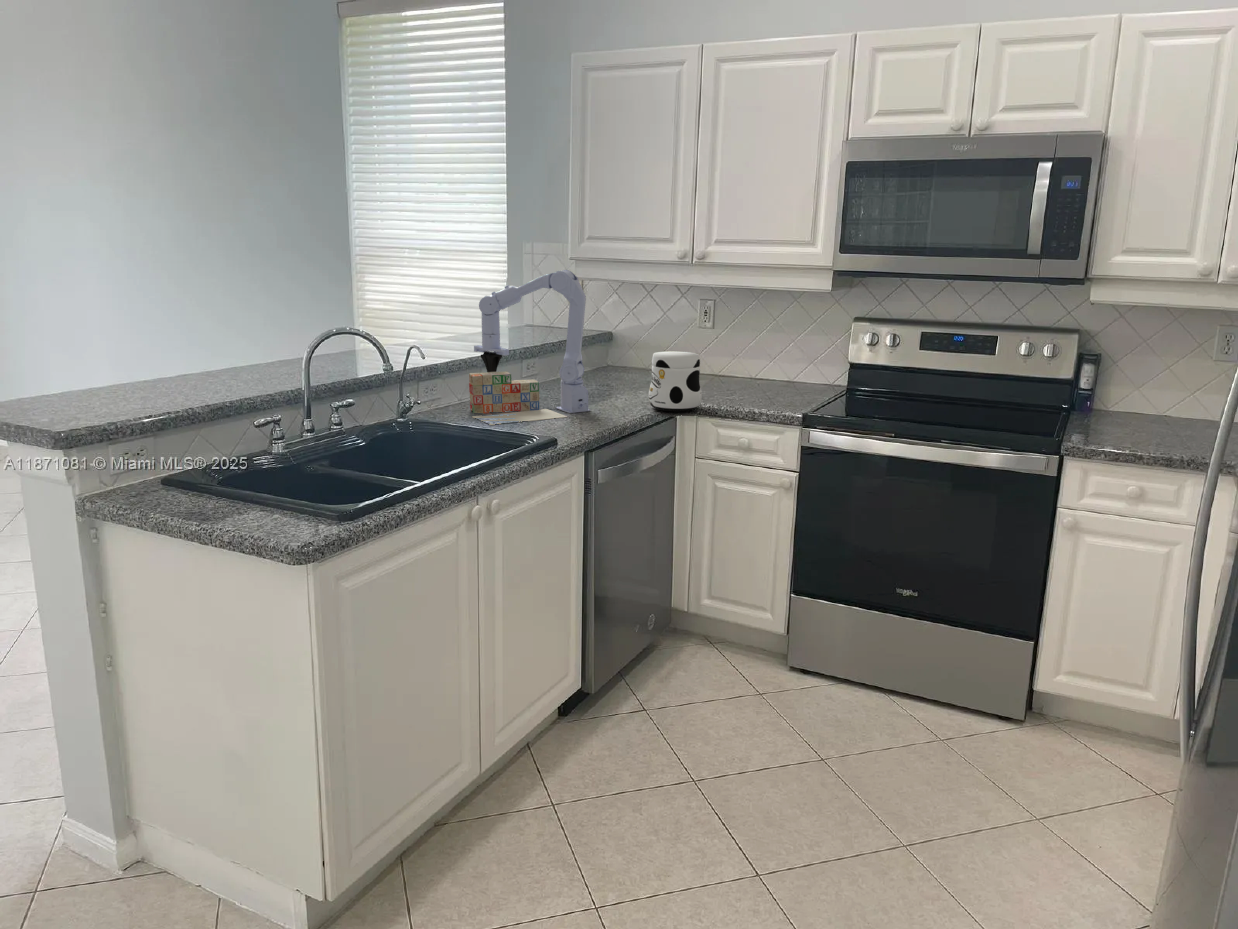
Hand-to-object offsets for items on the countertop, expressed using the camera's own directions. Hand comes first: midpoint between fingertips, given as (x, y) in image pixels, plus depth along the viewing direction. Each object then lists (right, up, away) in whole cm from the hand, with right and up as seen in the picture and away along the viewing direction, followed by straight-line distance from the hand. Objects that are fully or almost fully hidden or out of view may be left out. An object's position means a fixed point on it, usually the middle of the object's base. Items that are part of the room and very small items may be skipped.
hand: (491, 375), depth 293 cm
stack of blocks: (+5, -12, -4) cm, 13 cm away
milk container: (+60, -11, +1) cm, 61 cm away
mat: (+11, -14, -14) cm, 23 cm away
